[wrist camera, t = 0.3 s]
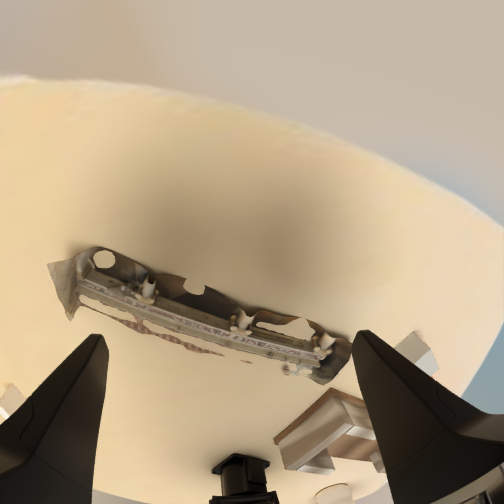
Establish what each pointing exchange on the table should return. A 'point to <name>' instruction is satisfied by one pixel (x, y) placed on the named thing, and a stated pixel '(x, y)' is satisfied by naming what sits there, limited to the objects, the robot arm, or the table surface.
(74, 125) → the table surface
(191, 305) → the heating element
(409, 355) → the tan bar grey block
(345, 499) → the water bottle
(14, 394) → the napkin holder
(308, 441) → the cable board
